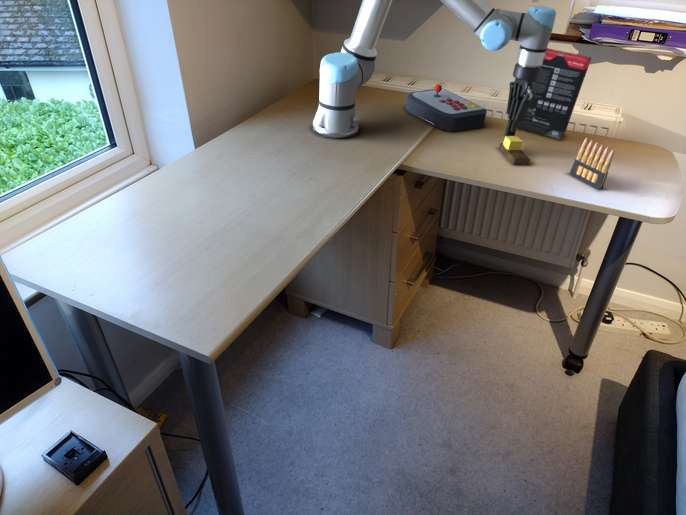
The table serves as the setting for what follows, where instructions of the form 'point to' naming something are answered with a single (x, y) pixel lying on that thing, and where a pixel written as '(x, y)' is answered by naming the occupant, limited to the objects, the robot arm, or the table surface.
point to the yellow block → (512, 143)
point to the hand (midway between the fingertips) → (508, 139)
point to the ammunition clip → (592, 165)
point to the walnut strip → (515, 156)
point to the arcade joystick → (445, 109)
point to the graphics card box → (555, 93)
